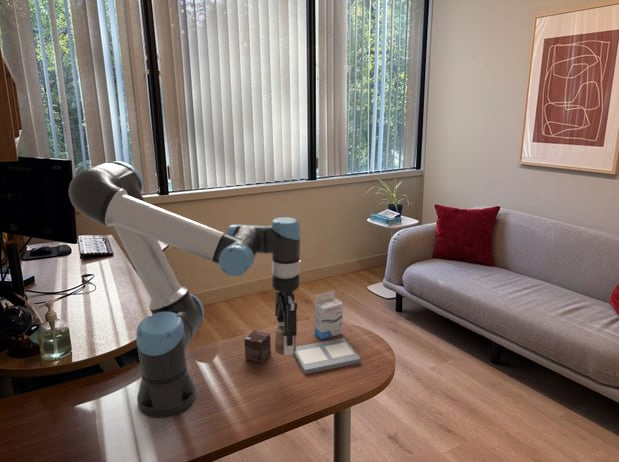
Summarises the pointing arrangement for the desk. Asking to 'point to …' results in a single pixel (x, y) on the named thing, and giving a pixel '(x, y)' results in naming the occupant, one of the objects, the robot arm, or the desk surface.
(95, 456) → the desk surface
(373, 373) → the desk surface
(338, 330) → the ink box
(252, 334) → the box
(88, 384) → the desk surface
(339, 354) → the grey tray with squares
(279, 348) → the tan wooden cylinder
